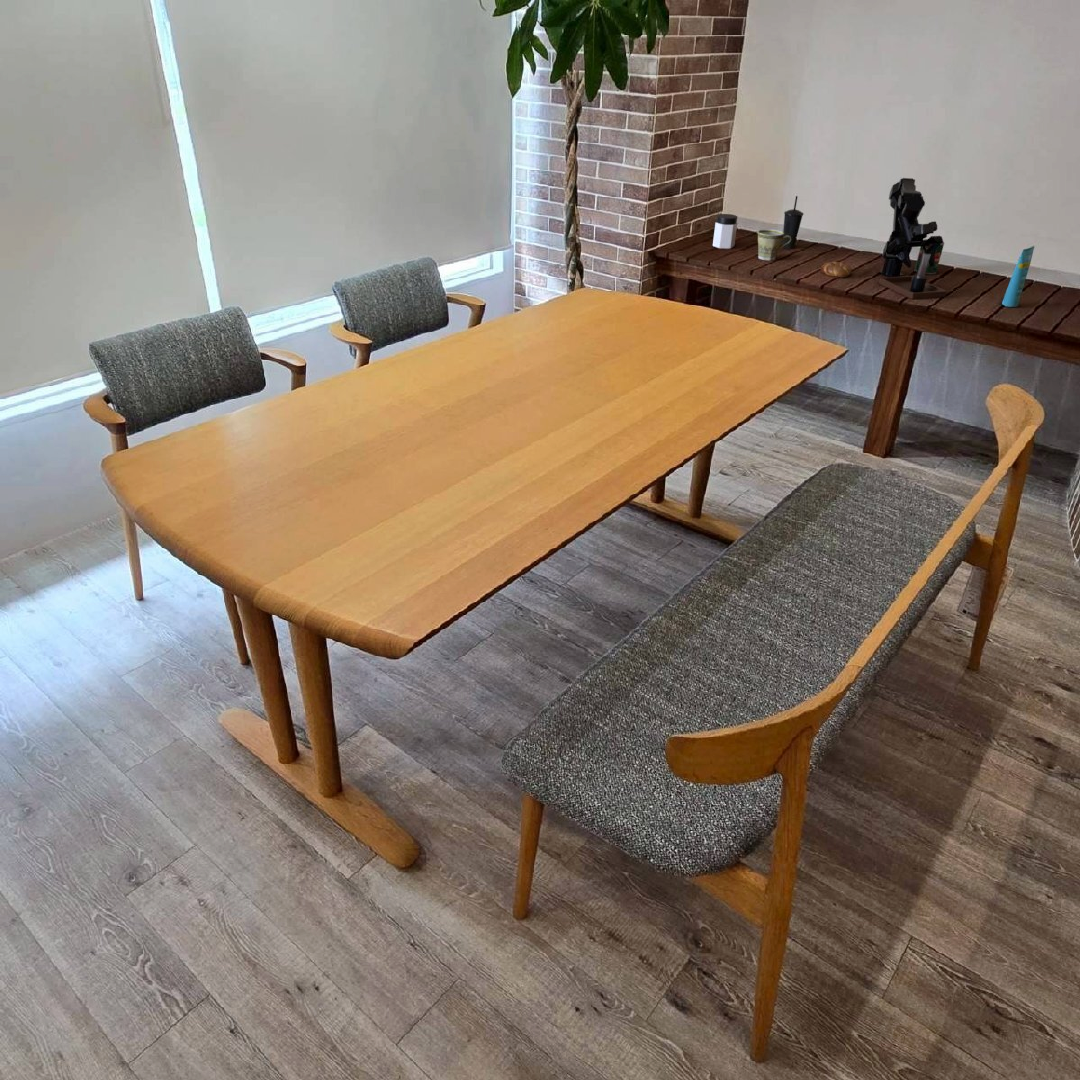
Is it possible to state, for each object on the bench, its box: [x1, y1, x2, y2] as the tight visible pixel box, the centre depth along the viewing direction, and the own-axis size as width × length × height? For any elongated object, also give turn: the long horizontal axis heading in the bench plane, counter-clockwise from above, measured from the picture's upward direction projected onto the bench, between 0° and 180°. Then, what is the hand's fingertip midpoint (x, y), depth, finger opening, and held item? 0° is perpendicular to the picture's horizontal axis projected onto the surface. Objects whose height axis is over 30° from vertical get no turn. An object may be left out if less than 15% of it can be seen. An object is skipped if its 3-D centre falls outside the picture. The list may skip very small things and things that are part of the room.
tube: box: [1001, 245, 1035, 308], centre depth 279 cm, size 7×5×19 cm, turn 134°
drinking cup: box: [781, 195, 805, 250], centre depth 341 cm, size 8×8×20 cm
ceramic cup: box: [757, 228, 791, 262], centre depth 328 cm, size 13×10×10 cm
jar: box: [712, 213, 738, 250], centre depth 343 cm, size 9×8×12 cm
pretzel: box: [820, 261, 852, 279], centre depth 312 cm, size 12×11×4 cm
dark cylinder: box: [910, 252, 931, 293], centre depth 291 cm, size 4×4×13 cm
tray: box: [878, 275, 948, 300], centre depth 297 cm, size 20×14×2 cm
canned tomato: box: [914, 238, 945, 275], centre depth 315 cm, size 8×8×11 cm
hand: (921, 266), depth 291 cm, fingers open, 9 cm apart
